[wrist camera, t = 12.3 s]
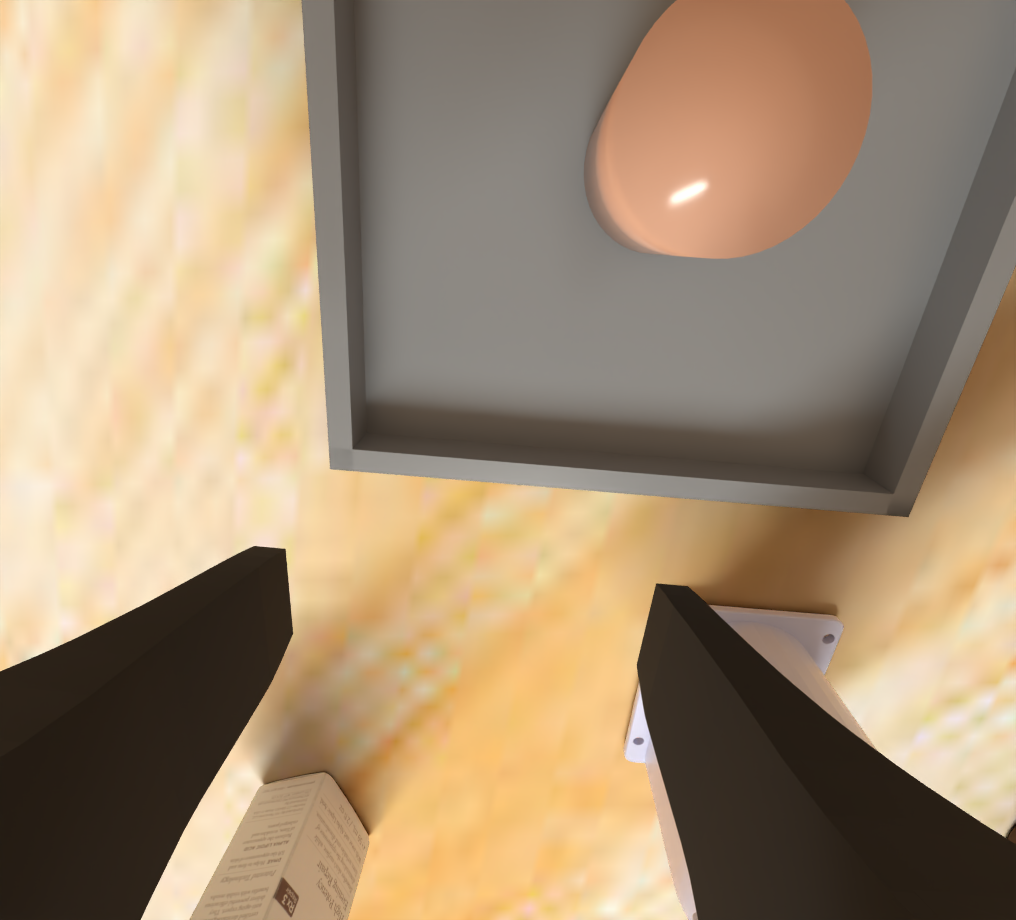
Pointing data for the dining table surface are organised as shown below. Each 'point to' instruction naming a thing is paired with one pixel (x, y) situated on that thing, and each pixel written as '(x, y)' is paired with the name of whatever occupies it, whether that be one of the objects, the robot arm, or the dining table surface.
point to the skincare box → (290, 856)
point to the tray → (644, 263)
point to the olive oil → (1012, 835)
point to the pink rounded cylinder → (730, 126)
